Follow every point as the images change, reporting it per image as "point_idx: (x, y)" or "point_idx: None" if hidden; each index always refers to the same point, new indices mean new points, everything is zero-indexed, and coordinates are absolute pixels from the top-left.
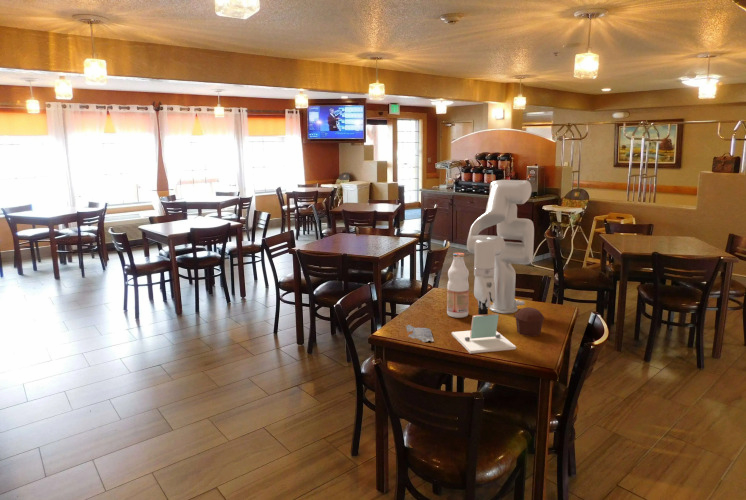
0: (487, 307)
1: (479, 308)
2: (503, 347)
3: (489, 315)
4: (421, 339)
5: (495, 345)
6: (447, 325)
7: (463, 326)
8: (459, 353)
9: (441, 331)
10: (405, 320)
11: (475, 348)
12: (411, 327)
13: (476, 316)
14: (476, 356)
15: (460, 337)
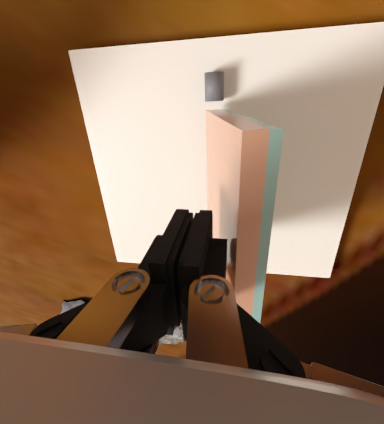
0: (257, 324)
1: (172, 329)
2: (370, 118)
3: (263, 235)
4: (161, 342)
5: (321, 151)
6: (28, 234)
7: (30, 182)
8: (307, 298)
9: (90, 272)
10: (5, 320)
11: (315, 251)
12: None
13: None
14: (366, 262)
15: None
